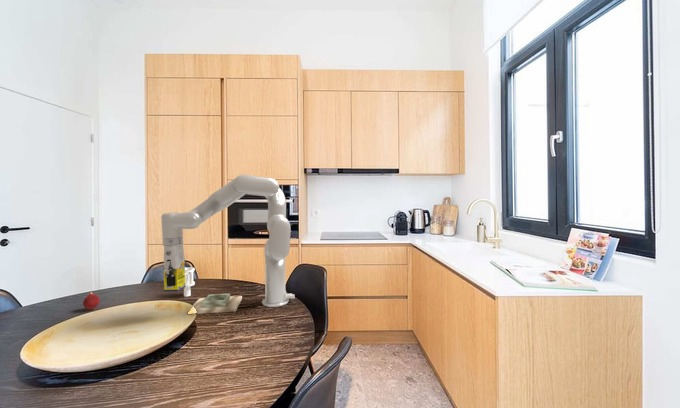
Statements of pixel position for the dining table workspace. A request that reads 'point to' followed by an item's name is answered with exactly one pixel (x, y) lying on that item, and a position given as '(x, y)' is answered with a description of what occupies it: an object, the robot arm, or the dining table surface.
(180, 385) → the dining table surface
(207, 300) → the grey flat piece
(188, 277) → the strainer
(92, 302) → the onion
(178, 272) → the supplement box
